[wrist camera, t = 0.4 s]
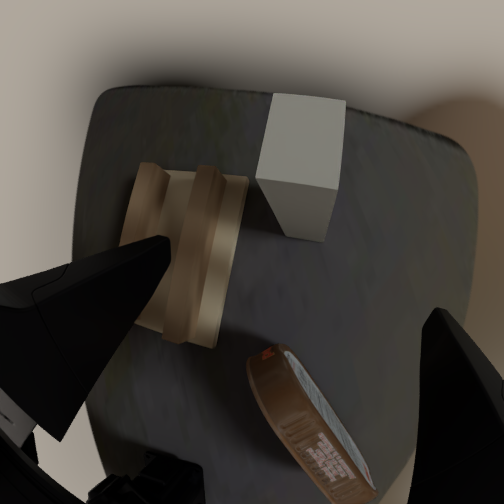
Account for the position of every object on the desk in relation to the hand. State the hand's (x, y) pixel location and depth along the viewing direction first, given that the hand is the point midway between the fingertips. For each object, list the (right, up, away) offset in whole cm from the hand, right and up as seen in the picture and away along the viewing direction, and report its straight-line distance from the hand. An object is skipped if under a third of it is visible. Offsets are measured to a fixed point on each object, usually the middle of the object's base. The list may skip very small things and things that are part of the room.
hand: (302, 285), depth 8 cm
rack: (-8, +1, +15) cm, 17 cm away
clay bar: (+3, +4, +14) cm, 15 cm away
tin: (+4, -12, +12) cm, 17 cm away
